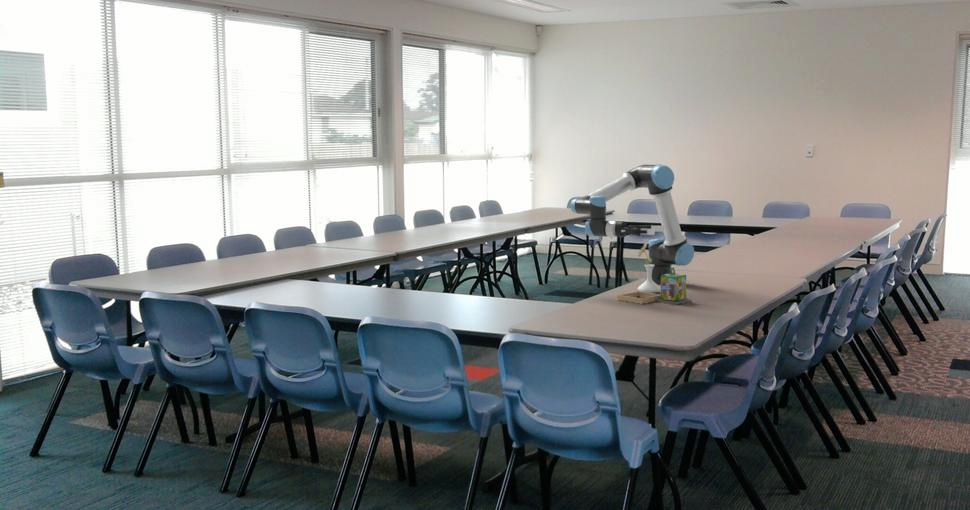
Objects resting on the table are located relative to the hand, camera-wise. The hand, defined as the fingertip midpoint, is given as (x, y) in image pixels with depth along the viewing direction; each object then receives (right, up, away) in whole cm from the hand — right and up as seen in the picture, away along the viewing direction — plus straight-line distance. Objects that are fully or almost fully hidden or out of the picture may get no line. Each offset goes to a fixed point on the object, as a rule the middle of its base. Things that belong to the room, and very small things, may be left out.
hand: (659, 230), depth 426 cm
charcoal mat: (+7, -33, +1) cm, 34 cm away
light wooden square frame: (-8, -33, +6) cm, 34 cm away
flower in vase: (-1, -30, +25) cm, 39 cm away
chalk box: (+7, -32, +1) cm, 33 cm away
